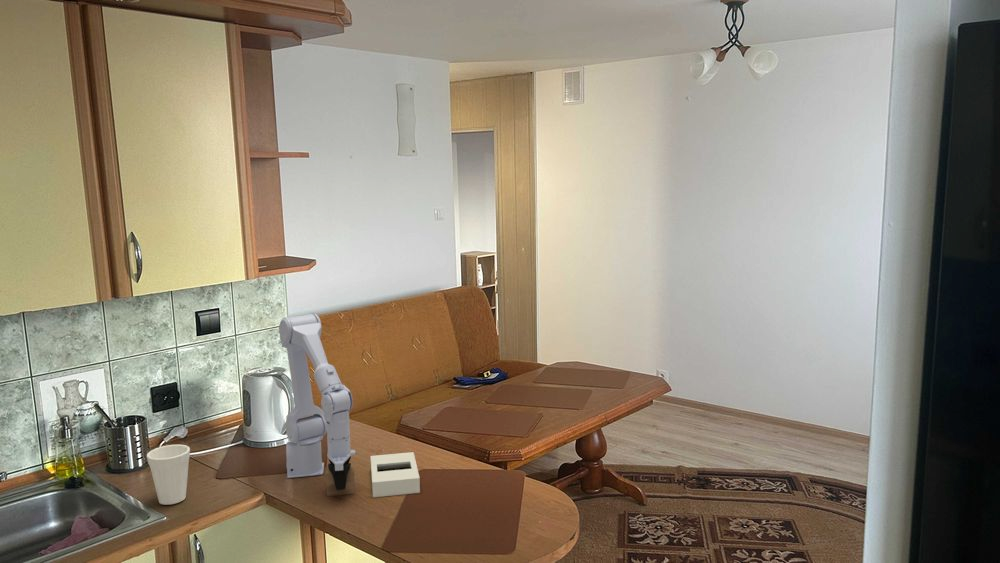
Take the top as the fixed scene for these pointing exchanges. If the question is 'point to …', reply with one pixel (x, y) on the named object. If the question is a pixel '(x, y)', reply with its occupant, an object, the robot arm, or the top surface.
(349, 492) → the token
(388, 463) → the slotted box
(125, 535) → the top surface
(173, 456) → the cup
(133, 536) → the top surface
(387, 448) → the top surface
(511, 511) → the top surface
